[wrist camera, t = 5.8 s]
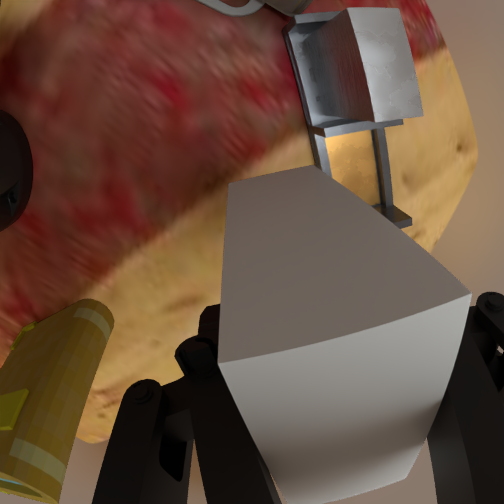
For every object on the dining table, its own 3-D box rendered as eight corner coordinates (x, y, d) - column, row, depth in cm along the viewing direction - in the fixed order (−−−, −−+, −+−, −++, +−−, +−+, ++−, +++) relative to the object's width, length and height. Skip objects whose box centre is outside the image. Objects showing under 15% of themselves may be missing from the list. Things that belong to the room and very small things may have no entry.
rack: (336, 296, 37) (371, 361, 27) (281, 30, 24) (314, -9, 13) (390, 279, 37) (436, 336, 27) (352, 23, 23) (413, -7, 13)
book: (50, 358, 39) (-3, 490, 17) (22, 327, 36) (-47, 458, 14) (124, 328, 37) (74, 509, 15) (93, 289, 34) (9, 471, 12)
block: (264, 320, 17) (291, 509, 7) (228, 183, 14) (217, 363, 4) (332, 304, 17) (405, 478, 7) (313, 164, 14) (472, 293, 4)
